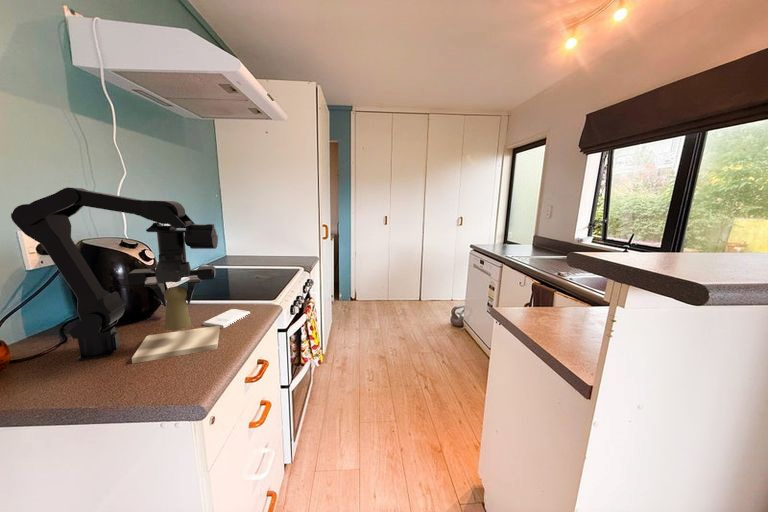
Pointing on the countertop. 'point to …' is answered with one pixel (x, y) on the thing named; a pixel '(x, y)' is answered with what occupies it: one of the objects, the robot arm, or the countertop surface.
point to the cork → (176, 309)
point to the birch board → (177, 344)
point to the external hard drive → (226, 318)
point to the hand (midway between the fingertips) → (177, 304)
